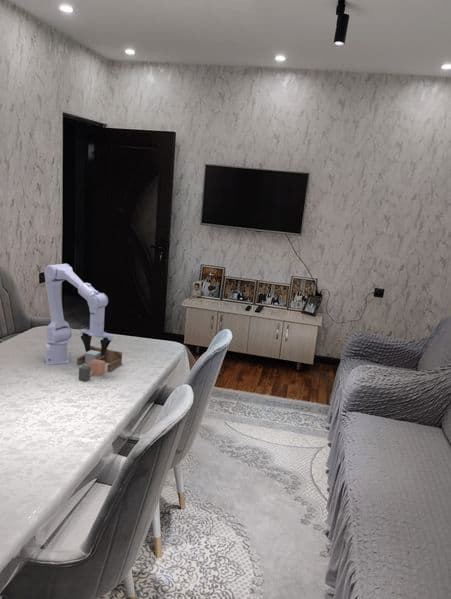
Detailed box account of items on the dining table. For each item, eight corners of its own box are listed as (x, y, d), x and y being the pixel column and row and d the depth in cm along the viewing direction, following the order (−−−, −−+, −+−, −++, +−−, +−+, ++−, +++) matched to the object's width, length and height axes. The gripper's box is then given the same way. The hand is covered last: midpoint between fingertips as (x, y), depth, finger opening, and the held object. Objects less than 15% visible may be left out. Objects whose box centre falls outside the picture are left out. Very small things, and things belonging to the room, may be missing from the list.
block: (84, 363, 209) (85, 353, 208) (90, 360, 214) (91, 349, 213) (94, 365, 208) (94, 355, 207) (100, 362, 212) (100, 351, 211)
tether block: (76, 379, 191) (77, 367, 189) (94, 369, 203) (94, 357, 202) (87, 382, 189) (87, 369, 188) (104, 372, 201) (105, 360, 200)
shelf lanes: (77, 364, 207) (77, 351, 205) (89, 357, 216) (90, 345, 215) (109, 371, 202) (110, 358, 201) (121, 364, 212) (122, 352, 211)
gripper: (76, 321, 192) (75, 352, 195) (107, 327, 188) (105, 358, 191) (86, 317, 199) (85, 347, 202) (116, 323, 195) (114, 354, 198)
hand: (95, 352), depth 197 cm, fingers open, 7 cm apart
